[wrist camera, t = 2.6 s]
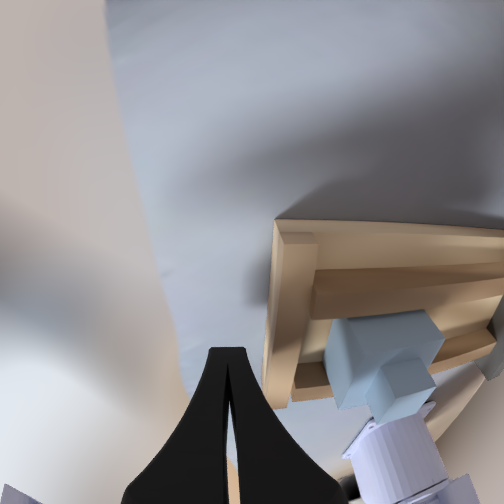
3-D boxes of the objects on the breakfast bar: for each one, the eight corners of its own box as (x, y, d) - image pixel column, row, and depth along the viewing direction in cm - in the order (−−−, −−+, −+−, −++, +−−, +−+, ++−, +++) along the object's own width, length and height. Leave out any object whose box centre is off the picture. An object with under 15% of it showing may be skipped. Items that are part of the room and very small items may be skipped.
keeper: (388, 349, 14) (423, 418, 10) (321, 359, 14) (347, 439, 9) (411, 294, 12) (464, 365, 8) (338, 300, 12) (380, 389, 8)
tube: (383, 497, 39) (375, 488, 27) (363, 511, 38) (345, 508, 26) (370, 483, 43) (357, 466, 32) (351, 496, 42) (328, 485, 31)
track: (474, 341, 17) (498, 375, 14) (261, 379, 16) (268, 440, 12) (522, 231, 13) (561, 261, 9) (274, 219, 11) (297, 277, 8)
